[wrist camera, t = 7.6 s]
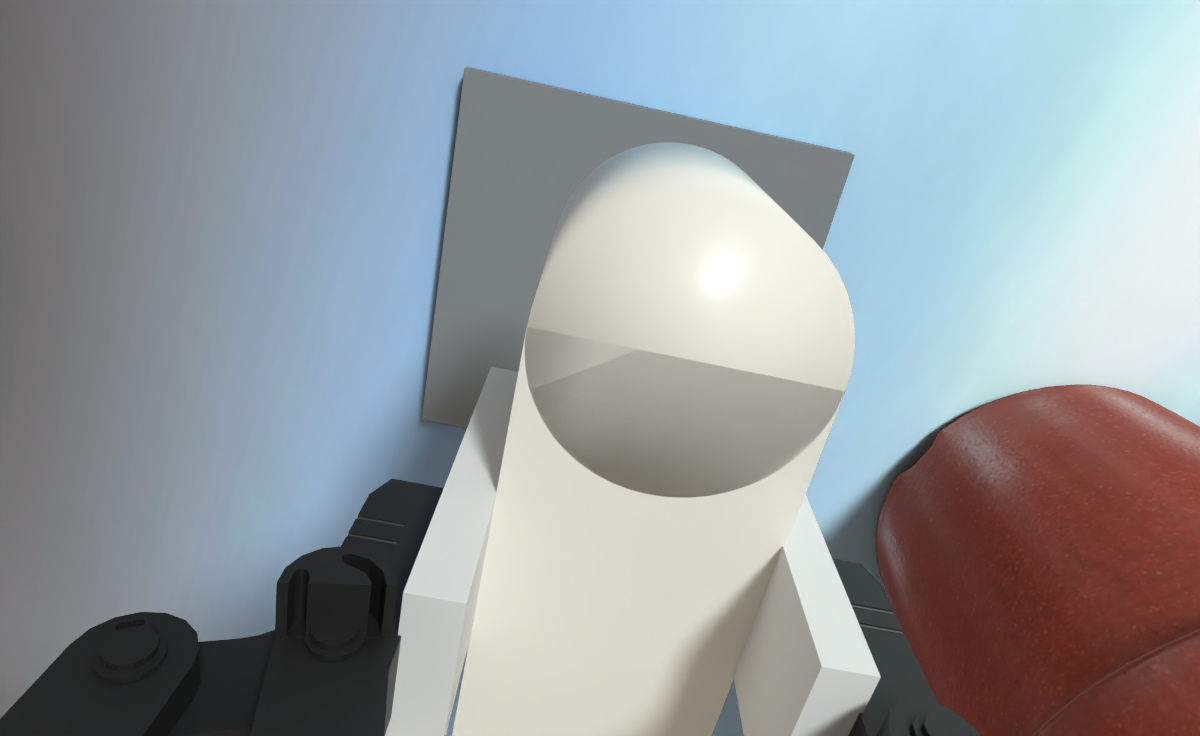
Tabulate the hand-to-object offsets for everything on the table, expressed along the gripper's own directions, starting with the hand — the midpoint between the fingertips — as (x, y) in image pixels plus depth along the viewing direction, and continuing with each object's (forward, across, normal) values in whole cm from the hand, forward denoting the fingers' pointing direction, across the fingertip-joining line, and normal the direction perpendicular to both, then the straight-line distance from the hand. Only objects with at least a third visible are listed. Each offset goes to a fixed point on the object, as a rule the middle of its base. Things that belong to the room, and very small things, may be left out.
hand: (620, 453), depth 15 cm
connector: (+1, 0, 0) cm, 1 cm away
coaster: (+11, 0, 0) cm, 11 cm away
